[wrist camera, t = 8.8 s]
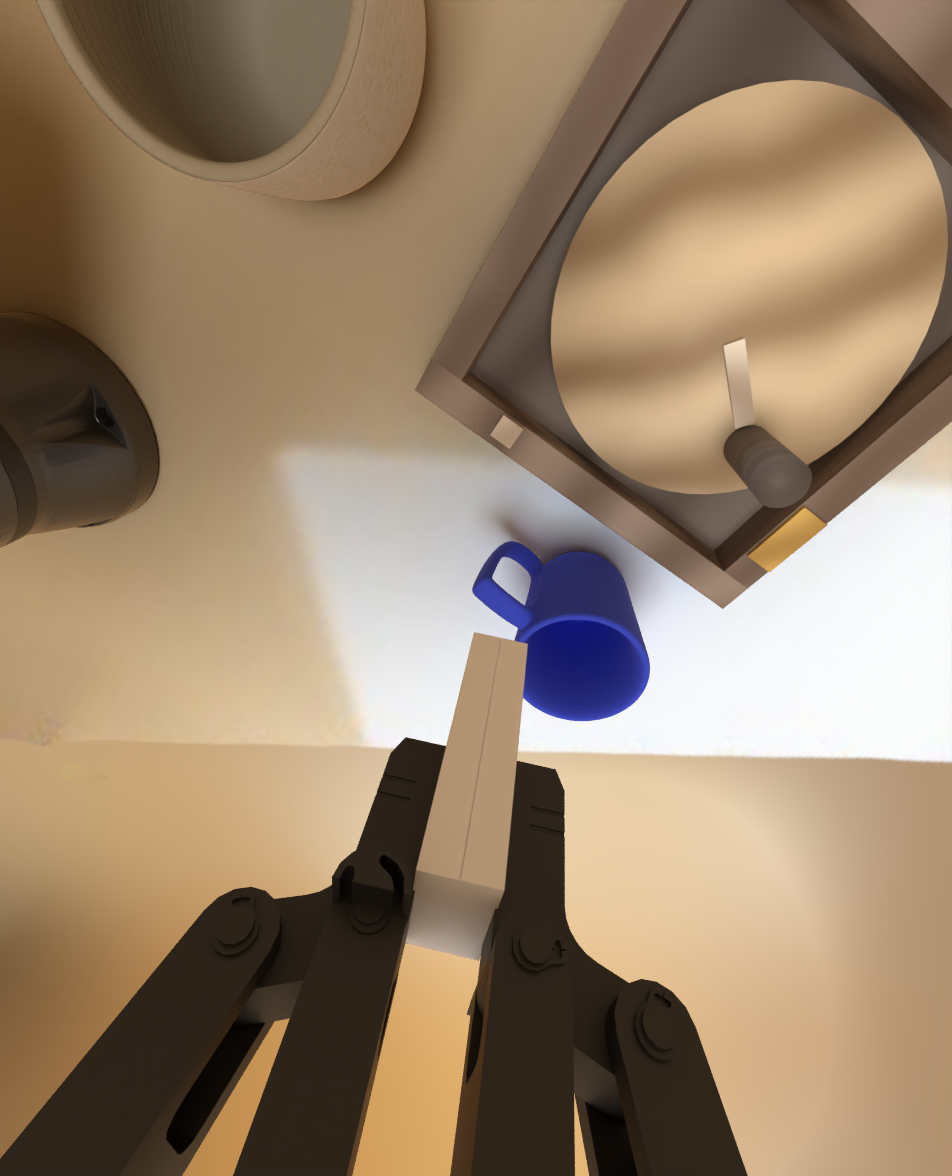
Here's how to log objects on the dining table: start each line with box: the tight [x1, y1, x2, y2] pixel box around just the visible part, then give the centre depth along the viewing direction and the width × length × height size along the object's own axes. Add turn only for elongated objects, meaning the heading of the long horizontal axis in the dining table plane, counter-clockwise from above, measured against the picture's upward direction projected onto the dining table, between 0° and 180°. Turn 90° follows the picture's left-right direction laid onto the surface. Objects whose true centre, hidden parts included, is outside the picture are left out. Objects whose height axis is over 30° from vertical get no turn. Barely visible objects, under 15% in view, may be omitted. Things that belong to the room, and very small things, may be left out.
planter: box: [36, 0, 426, 201], centre depth 21 cm, size 12×12×11 cm
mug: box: [472, 541, 650, 721], centre depth 34 cm, size 8×12×10 cm
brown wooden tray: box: [415, 0, 952, 609], centre depth 27 cm, size 24×24×4 cm
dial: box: [551, 80, 948, 508], centre depth 24 cm, size 18×18×8 cm
